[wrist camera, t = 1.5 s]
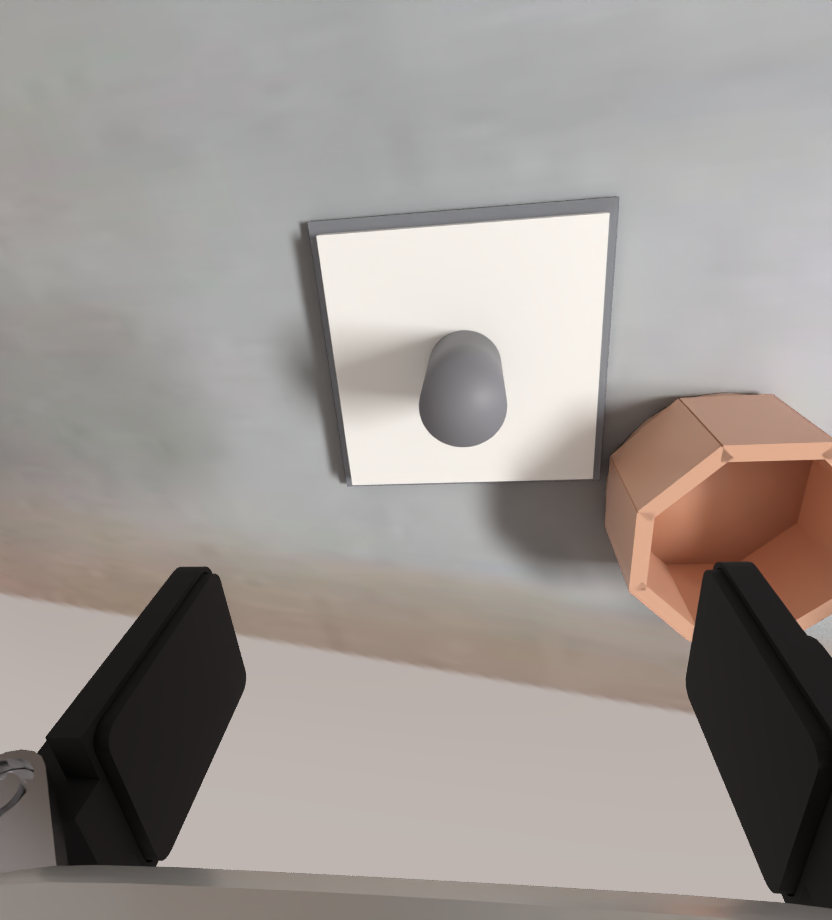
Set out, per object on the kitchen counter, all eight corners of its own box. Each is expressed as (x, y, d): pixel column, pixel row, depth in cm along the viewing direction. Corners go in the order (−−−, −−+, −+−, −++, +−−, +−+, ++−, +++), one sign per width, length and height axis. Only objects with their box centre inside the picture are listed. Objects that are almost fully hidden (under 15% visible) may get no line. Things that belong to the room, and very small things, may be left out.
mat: (309, 221, 24) (307, 222, 24) (617, 196, 23) (619, 196, 22) (348, 482, 30) (346, 486, 29) (598, 475, 28) (599, 479, 28)
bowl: (612, 397, 26) (643, 448, 22) (836, 388, 25) (922, 439, 20) (599, 566, 31) (623, 641, 26) (791, 564, 30) (854, 642, 25)
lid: (320, 234, 24) (279, 250, 19) (605, 211, 23) (644, 222, 18) (355, 477, 29) (329, 542, 24) (589, 471, 28) (616, 538, 23)
